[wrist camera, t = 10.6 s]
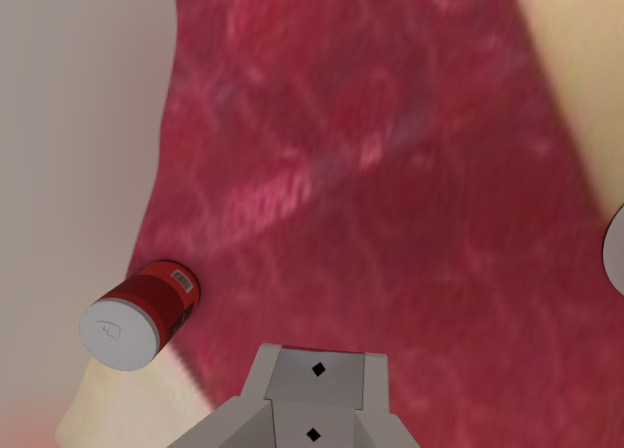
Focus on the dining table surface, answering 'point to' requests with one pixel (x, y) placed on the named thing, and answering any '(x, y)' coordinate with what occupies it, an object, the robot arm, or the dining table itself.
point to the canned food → (139, 315)
